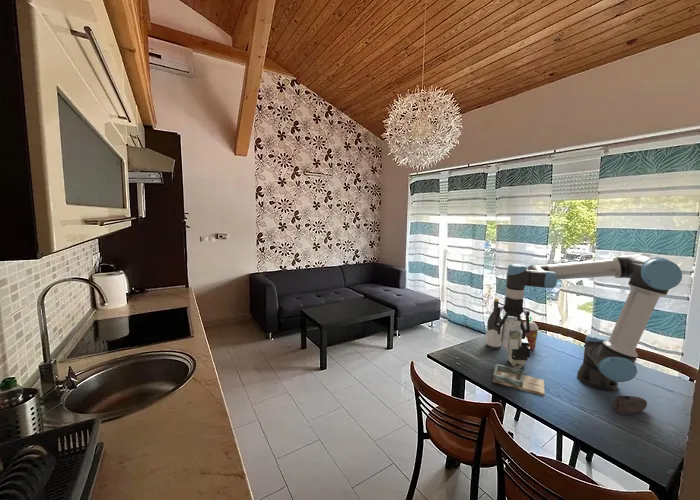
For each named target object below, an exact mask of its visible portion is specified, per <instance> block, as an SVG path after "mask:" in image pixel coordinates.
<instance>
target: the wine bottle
mask: <svg viewBox="0 0 700 500" xmlns="http://www.w3.org/2000/svg"><path fill="white" fill-rule="evenodd" d="M499 302H500V301H499V298H496V297H495V298H494V300H493V311H492V312H491V313H490V314H489V316H488V319H487V323H486V324H487V325H486V326H487V327H486V338H485V339H486V342H485V343H486V344H485V345H486V347H487V348H488V349H492V350H499V349H500V350H501V348H502V344H501V342H499V341H500V334H498V327H496V326H494V323H495V319H496V316H497V312H498V311H497V307H498V306H499ZM502 319H503V318H502V317H501V315H500V316H499V320H498V324H500V322H501V320H502ZM501 327H503V325H502V326H501Z"/></svg>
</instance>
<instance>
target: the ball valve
mask: <svg viewBox="0 0 700 500" xmlns="http://www.w3.org/2000/svg"><path fill="white" fill-rule="evenodd" d="M519 345H520V344H519ZM503 347H504V346H503ZM504 349H505V351H506V352H507V353H508V356H507V359H508V361H509V363H510V364H511V367H512V368H516V369H520V370H521V368H522V367H525V366H526V361H527V362H528V359H530V358H531V349H530V348H529V343H528V339H526V337H525V339H522V344H521V346H519V349H506V348H505V347H504Z"/></svg>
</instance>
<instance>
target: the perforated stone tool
mask: <svg viewBox="0 0 700 500" xmlns="http://www.w3.org/2000/svg"><path fill="white" fill-rule="evenodd" d="M612 404H613V405H614V410H615V412H617V414H619V415H632V414H633V415H634V414H637V413H640V412H643V411H644V410H645V409H646V408H647V406H648V402H647V400H646V399H645V398H642V397H639V396H635V395H615V396H614V400H613V402H612Z"/></svg>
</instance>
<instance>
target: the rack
mask: <svg viewBox="0 0 700 500" xmlns="http://www.w3.org/2000/svg"><path fill="white" fill-rule="evenodd" d="M524 374H525V370H523V369H521V368H520V369H516V368H514V367H513V366H508V365H503V364H499V363H495V367H494V370H493V374H492V375H493V376H492V383H496V384H499V385H503V386H506V387H510V388H514V389H518V390H522V391H525V392H529V393H531V394H535V395H540V396H543V397H545V392H546V390H545V380H544V379H541V378H537V377H533V376H529V375H524Z"/></svg>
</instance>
